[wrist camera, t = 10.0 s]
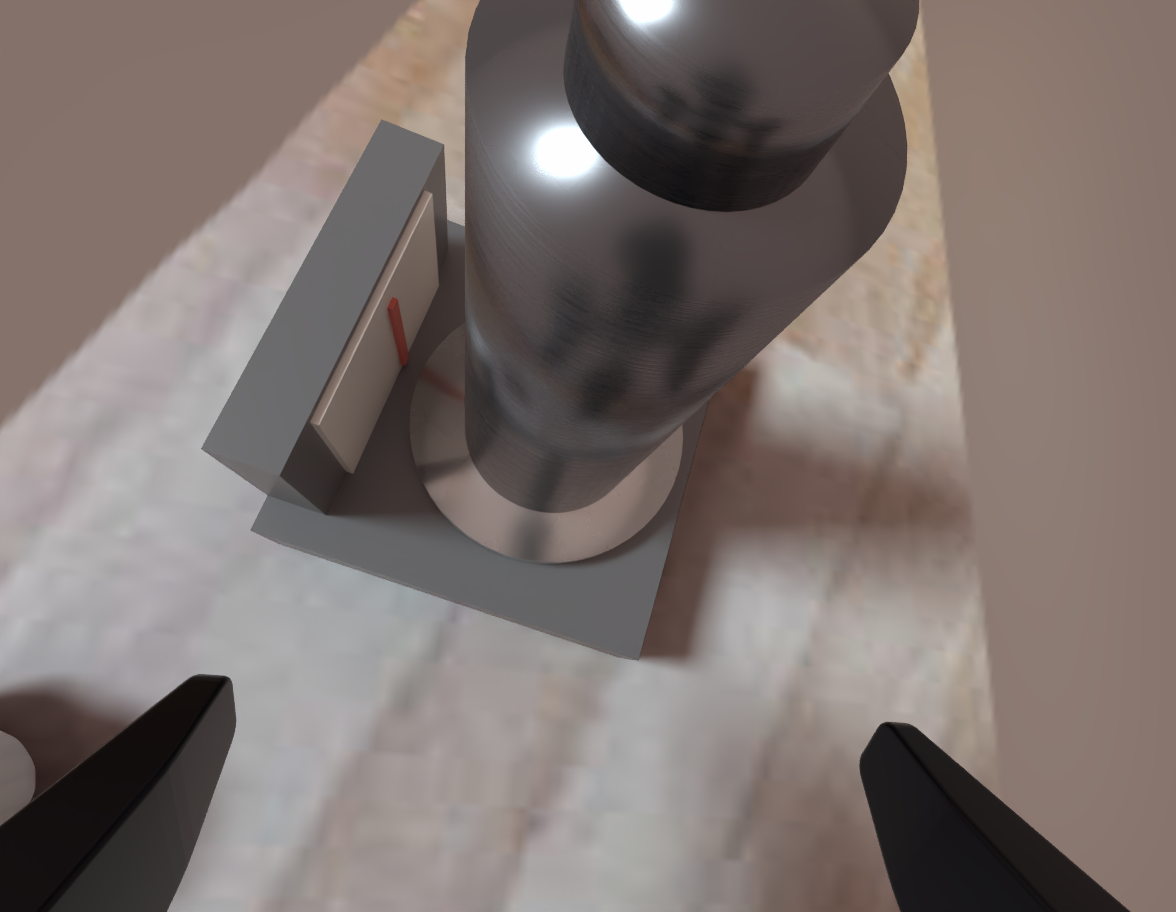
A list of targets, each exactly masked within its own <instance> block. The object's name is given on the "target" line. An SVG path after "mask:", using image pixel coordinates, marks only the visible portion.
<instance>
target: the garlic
mask: <svg viewBox="0 0 1176 912" xmlns="http://www.w3.org/2000/svg"><path fill="white" fill-rule="evenodd" d="M34 790H35V766H34V763H33V761H32V759H31V757H30V755H29V754H28V752H27V750H26V749H25V747H24V746H23V745H22V744H21V742H20V741H19V740H17V739H16V738H15V737H13V736H11V735H9V734H6V733H4V732H3V731H1V730H0V825H1V824H3V823H4V822H5V821H6V820H8V819H9V818H10V817H12V816H13V815H14V814H15V813H17V812H18V811H19V810H20V809H22V808H23V807H24V806H26V805H27V804H28V803H29V802H30V801H31V799H32V797H33V794H34Z"/></svg>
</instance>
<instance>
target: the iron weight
mask: <svg viewBox="0 0 1176 912" xmlns="http://www.w3.org/2000/svg"><path fill="white" fill-rule="evenodd" d="M918 14H919V0H480V2H479V4H478V6H477V8H476V10H475V13H474V16H473V20H472V23H471V26H470V29H469V33H468V41H467V49H466V56H465V437H466V443H467V448H468V451H469V454H470V457H471V459H472V461H473V463H474V465H475V468H476V469H477V471H478V472H479V474H480V475H481V477H482V478H483V479H484V480H485V481H486V483H487V484H488V485H489V486H490V487H491V488H492V489H493V490H495V491H496V492H497V493H498V494H499V495H501V496H502V497H504V498H505V499H507V500H508V501H510V502H512V503H514V504H516V505H518V506H521V507H523V508H526V509H529V510H534V511H538V512H546V513H564V512H570V511H575V510H578V509H581V508H584V507H587V506H589V505H591V504H593V503H595V502H597V501H599V500H600V499H602V498H603V497H605V496H606V495H607V494H608V493H609V492H611V491H612V490H613V489H614V488H615V487H616V486H617V485H618V484H619V483H620V482H621V481H622V480H624V479H625V478H626V477H627V476H628V475H629V474H630V473H631V472H632V471H633V470H634V469H635V468H636V467H637V466H639V465H640V464H641V463H642V462H643V461H644V460H645V459H646V458H647V457H648V456H649V455H650V454H651V453H652V452H653V451H655V450H656V449H657V448H658V447H659V446H660V445H661V444H662V443H663V442H664V441H665V440H666V439H667V438H668V437H670V436H671V435H672V434H673V433H674V432H675V431H676V430H677V429H678V428H679V427H680V426H681V425H682V424H683V423H684V422H686V421H687V420H688V419H689V418H690V417H691V416H692V415H693V414H694V413H695V412H696V411H697V410H698V409H699V408H701V407H702V406H703V405H704V404H705V403H706V402H707V401H708V400H709V399H710V398H711V397H712V396H713V395H714V394H715V393H717V392H718V391H719V390H720V389H721V388H722V387H723V386H724V385H725V384H726V383H727V382H728V381H729V380H730V379H731V378H733V377H734V376H735V375H736V374H737V373H738V372H739V371H740V370H741V369H742V368H743V367H744V366H745V365H746V364H748V363H749V362H750V361H751V360H752V359H753V358H754V357H755V356H756V355H757V354H758V353H759V352H760V351H761V350H762V349H764V348H765V347H766V346H767V345H768V344H769V343H770V342H771V341H772V340H773V339H774V338H775V337H776V336H777V335H779V334H780V333H781V332H782V331H783V330H784V329H785V328H786V327H787V326H788V325H789V324H790V323H791V322H792V321H793V320H795V319H796V318H797V317H798V316H799V315H800V314H801V313H802V312H803V311H804V310H805V309H806V308H807V307H808V306H810V305H811V304H812V303H813V302H814V301H815V300H816V299H817V298H818V297H819V296H820V295H821V294H822V293H823V292H824V291H826V290H827V289H828V288H829V287H830V286H831V285H832V284H833V283H834V282H835V281H836V280H837V279H838V278H839V277H840V276H842V275H843V274H844V273H845V272H846V271H847V270H848V269H849V268H850V267H851V266H852V265H853V264H854V263H855V262H857V261H858V260H859V259H860V258H861V257H862V256H863V255H864V254H865V253H866V252H867V251H868V250H869V249H870V248H871V247H872V245H873V244H874V243H875V242H876V241H877V239H878V238H879V237H880V236H881V234H882V233H883V232H884V230H885V228H886V227H887V225H888V223H889V221H890V220H891V218H892V216H893V214H894V213H895V210H896V207H897V204H898V202H899V199H900V196H901V193H902V190H903V185H904V179H905V174H906V169H907V139H906V130H905V122H904V118H903V114H902V110H901V106H900V102H899V98H898V96H897V93H896V91H895V88H894V85H893V83H892V80H891V78H890V75H889V74H888V73H889V72H890V70H891V69H892V68H893V66H894V65H895V64H896V62H897V61H898V60H899V58H900V57H901V56H902V54H903V53H904V51H905V50H906V48H907V46H908V45H909V43H910V41H911V39H912V36H913V34H914V31H915V29H916V24H917V19H918Z"/></svg>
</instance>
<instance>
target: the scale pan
mask: <svg viewBox="0 0 1176 912" xmlns="http://www.w3.org/2000/svg"><path fill="white" fill-rule="evenodd" d="M409 428H410V440H411V447H412V452H413V456H414V461H415V464H416V468H417V470H418V473H419V476H420V478H421V481H422V484H423V486H424V487H425V489H426V491H427V493H428V495H429V497H430V498H431V500H432V502H433V503H434V504H435V506H436V507H437V508H438V510H439V511H440V512H441V514H442V515H443V516H444V517H445V518H446V519H447V520H448V521H449V522H450V523H451V524H452V525H453V526H454V527H455V528H456V529H457V530H458V531H459V532H461V533H462V534H463V535H465V536H466V537H467V538H468V539H470V540H471V541H473V542H475V543H476V544H478V545H480V546H481V547H483V548H485V549H487V550H489V551H491V552H494V553H496V554H499V555H501V556H503V557H507V558H510V559H514V560H518V561H521V562H529V563H536V564H563V563H570V562H577V561H581V560H584V559H588V558H592V557H595V556H597V555H600V554H602V553H604V552H607V551H609V550H611V549H613V548H615V547H616V546H618V545H620V544H621V543H623V542H625V541H626V540H628V539H630V538H631V537H632V536H633V535H635V534H636V533H637V532H638V531H640V530H641V529H642V528H643V527H644V526H645V525H646V524H647V523H648V522H649V521H650V520H651V519H652V518H653V517H654V516H655V515H656V513H657V512H658V510H659V509H660V508H661V506H662V505H663V503H664V502H665V500H666V498H667V497H668V495H669V493H670V491H671V489H672V487H673V485H674V482H675V479H676V476H677V473H678V470H679V466H680V461H681V456H682V446H683V427H682V425H681V426H680V427H679V428H678V429H677V430H676V431H675V432H674V433H673V434H672V435H671V436H670V437H668V438H667V439H666V440H665V441H664V442H663V443H662V444H661V445H660V446H659V447H658V448H657V449H656V450H655V451H653V452H652V453H651V454H650V455H649V456H648V457H647V458H646V459H645V460H644V461H643V462H642V463H641V464H640V465H639V466H637V467H636V468H635V469H634V470H633V471H632V472H631V473H630V474H629V475H628V476H627V477H626V478H625V479H624V480H622V481H621V482H620V483H619V484H618V485H617V486H616V487H615V488H614V489H613V490H612V491H611V492H609V493H608V494H607V495H606V496H605V497H603V498H602V499H600V500H599V501H597V502H595V503H593V504H591V505H589V506H587V507H584V508H581V509H578V510H575V511H570V512H564V513H546V512H538V511H534V510H529V509H526V508H523V507H521V506H518V505H516V504H514V503H512V502H510V501H508V500H507V499H505V498H504V497H502V496H501V495H499V494H498V493H497V492H496V491H495V490H493V489H492V488H491V487H490V486H489V485H488V484H487V483H486V481H485V480H484V479H483V478H482V477H481V475H480V474H479V472H478V471H477V469H476V468H475V465H474V463H473V461H472V459H471V457H470V454H469V451H468V448H467V443H466V437H465V323H463V324H462V325H460V326H459V327H458V328H457V329H455V330H454V331H453V332H452V333H450V334H449V335H448V336H447V337H446V338H445V339H444V340H443V341H442V342H441V344H440V345H439V346H438V347H437V348H436V350H435V351H434V352H433V354H432V355H431V356H430V358H429V359H428V361H427V363H426V365H425V366H424V368H423V370H422V372H421V374H420V376H419V379H418V382H417V385H416V387H415V390H414V394H413V399H412V403H411V408H410V424H409Z"/></svg>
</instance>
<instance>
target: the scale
mask: <svg viewBox="0 0 1176 912" xmlns="http://www.w3.org/2000/svg"><path fill="white" fill-rule="evenodd" d="M463 323H465V227H464V226H461V225H459V224H456V223H454V222H451V221H449V220H447V205H446V181H445V157H444V144H441V143H439V142H436V141H434V140H431V139H429V138H426V137H424V136H421V135H419V134H416V133H414V132H411V131H409V130H407V129H404V128H402V127H399V126H397V125H394V124H392V123H389V122H387V121H384V120H381V122H380V123H379V125H378V127H377V129H376V131H375V132H374V134H373V136H372V138H371V140H370V142H369V143H368V145H367V147H366V149H365V151H364V153H363V154H362V156H361V158H360V160H359V162H358V163H357V165H356V167H355V169H354V171H353V173H352V174H351V176H350V178H349V180H348V182H347V184H346V185H345V187H344V189H343V191H342V193H341V195H340V196H339V198H338V200H337V202H336V204H335V205H334V207H333V209H332V211H331V213H330V215H329V216H328V218H327V220H326V222H325V224H324V226H323V227H322V229H321V231H320V233H319V235H318V236H317V238H316V240H315V242H314V244H313V246H312V247H311V249H310V251H309V253H308V255H307V257H306V258H305V260H304V262H303V264H302V266H301V267H300V269H299V271H298V273H297V275H296V277H295V278H294V280H293V282H292V284H291V286H290V288H289V289H288V291H287V293H286V295H285V297H284V298H283V300H282V302H281V304H280V306H279V308H278V309H277V311H276V313H275V315H274V317H273V319H272V320H271V322H270V324H269V326H268V328H267V329H266V331H265V333H264V335H263V337H262V339H261V340H260V342H259V344H258V346H257V348H256V350H255V351H254V353H253V355H252V357H251V359H250V360H249V362H248V364H247V366H246V368H245V370H244V371H243V373H242V375H241V377H240V379H239V381H238V382H237V384H236V386H235V388H234V390H233V391H232V393H231V395H230V397H229V399H228V401H227V402H226V404H225V406H224V408H223V410H222V412H221V413H220V415H219V417H218V419H217V421H216V422H215V424H214V426H213V428H212V430H211V432H210V433H209V435H208V437H207V439H206V441H205V443H204V444H203V446H202V448H201V449H202V450H203V451H205V452H206V453H208V454H209V455H211V456H212V457H213V458H215V459H216V460H218V461H219V462H221V463H222V464H223V465H225V466H226V467H228V468H229V469H231V470H232V471H234V472H235V473H236V474H238V475H239V476H241V477H242V478H244V479H245V480H246V481H248V482H249V483H251V484H252V485H254V486H255V487H256V488H258V489H259V490H261V491H262V492H264V493H265V494H267V495H268V496H267V498H266V500H265V502H264V504H263V506H262V508H261V510H260V512H259V514H258V516H257V518H256V520H255V522H254V524H253V526H252V528H251V531H253V532H255V533H257V534H259V535H261V536H263V537H265V538H267V539H270V540H272V541H274V542H276V543H278V544H281V545H284V546H287V547H290V548H293V549H296V550H299V551H302V552H305V553H308V554H311V555H314V556H317V557H320V558H323V559H326V560H329V561H332V562H335V563H338V564H341V565H344V566H347V567H350V568H353V569H356V570H359V571H362V572H365V573H368V574H371V575H374V576H377V577H380V578H383V579H386V580H389V581H392V582H395V583H398V584H401V585H404V586H407V587H410V588H413V589H416V590H419V591H422V592H425V593H428V594H431V595H434V596H436V597H439V598H442V599H445V600H448V601H451V602H454V603H457V604H460V605H463V606H466V607H469V608H472V609H475V610H478V611H481V612H484V613H487V614H490V615H493V616H496V617H499V618H502V619H505V620H508V621H511V622H514V623H517V624H520V625H523V626H526V627H529V628H532V629H535V630H538V631H541V632H544V633H547V634H550V635H553V636H556V637H559V638H562V639H565V640H568V641H571V642H574V643H577V644H580V645H583V646H586V647H589V648H592V649H595V650H598V651H601V652H604V653H607V654H610V655H613V656H616V657H620V658H626V659H632V660H639V656H640V653H641V649H642V645H643V641H644V638H645V634H646V630H647V627H648V623H649V619H650V616H651V612H652V608H653V605H654V601H655V597H656V594H657V590H658V586H659V583H660V579H661V575H662V572H663V568H664V564H665V561H666V557H667V553H668V550H669V546H670V542H671V539H672V535H673V531H674V527H675V524H676V520H677V516H678V513H679V509H680V505H681V502H682V498H683V494H684V491H685V487H686V483H687V480H688V476H689V472H690V469H691V465H692V461H693V458H694V454H695V450H696V447H697V443H698V439H699V436H700V432H701V428H702V425H703V421H704V417H705V413H706V410H707V406H708V402H709V400H708V401H707V402H706V403H705V404H704V405H703V406H702V407H701V408H699V409H698V410H697V411H696V412H695V413H694V414H693V415H692V416H691V417H690V418H689V419H688V420H687V421H686V422H684V423H683V424H682V427H683V446H682V456H681V461H680V466H679V470H678V473H677V476H676V479H675V482H674V485H673V487H672V489H671V491H670V493H669V495H668V497H667V498H666V500H665V502H664V503H663V505H662V506H661V508H660V509H659V510H658V512H657V513H656V515H655V516H654V517H653V518H652V519H651V520H650V521H649V522H648V523H647V524H646V525H645V526H644V527H643V528H642V529H641V530H640V531H638V532H637V533H636V534H635V535H633V536H632V537H631V538H630V539H628V540H626V541H625V542H623V543H621V544H620V545H618V546H616V547H615V548H613V549H611V550H609V551H607V552H604V553H602V554H600V555H597V556H595V557H592V558H588V559H584V560H581V561H577V562H570V563H563V564H536V563H529V562H521V561H518V560H514V559H510V558H507V557H503V556H501V555H499V554H496V553H494V552H491V551H489V550H487V549H485V548H483V547H481V546H480V545H478V544H476V543H475V542H473V541H471V540H470V539H468V538H467V537H466V536H465V535H463V534H462V533H461V532H459V531H458V530H457V529H456V528H455V527H454V526H453V525H452V524H451V523H450V522H449V521H448V520H447V519H446V518H445V517H444V516H443V515H442V514H441V512H440V511H439V510H438V508H437V507H436V506H435V504H434V503H433V502H432V500H431V498H430V497H429V495H428V493H427V491H426V489H425V487H424V486H423V484H422V481H421V478H420V476H419V473H418V470H417V468H416V464H415V461H414V456H413V452H412V447H411V440H410V428H409V424H410V408H411V403H412V399H413V394H414V390H415V387H416V385H417V382H418V379H419V376H420V374H421V372H422V370H423V368H424V366H425V365H426V363H427V361H428V359H429V358H430V356H431V355H432V354H433V352H434V351H435V350H436V348H437V347H438V346H439V345H440V344H441V342H442V341H443V340H444V339H445V338H446V337H447V336H448V335H449V334H450V333H452V332H453V331H454V330H455V329H457V328H458V327H459V326H460V325H462V324H463Z"/></svg>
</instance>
